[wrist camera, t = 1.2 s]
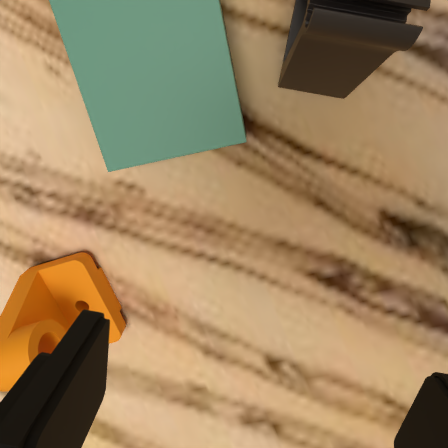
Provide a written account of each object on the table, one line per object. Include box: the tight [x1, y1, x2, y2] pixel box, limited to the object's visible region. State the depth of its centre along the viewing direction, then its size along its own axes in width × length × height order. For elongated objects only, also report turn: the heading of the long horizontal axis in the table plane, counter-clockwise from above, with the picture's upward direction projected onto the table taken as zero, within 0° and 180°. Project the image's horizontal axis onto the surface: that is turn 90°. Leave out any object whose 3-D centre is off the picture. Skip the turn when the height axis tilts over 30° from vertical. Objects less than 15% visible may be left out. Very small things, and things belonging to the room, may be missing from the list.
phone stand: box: [278, 0, 431, 98], centre depth 24 cm, size 9×6×12 cm, turn 170°
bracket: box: [0, 252, 126, 391], centre depth 35 cm, size 11×7×12 cm, turn 18°
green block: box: [49, 0, 246, 172], centre depth 29 cm, size 12×13×5 cm
